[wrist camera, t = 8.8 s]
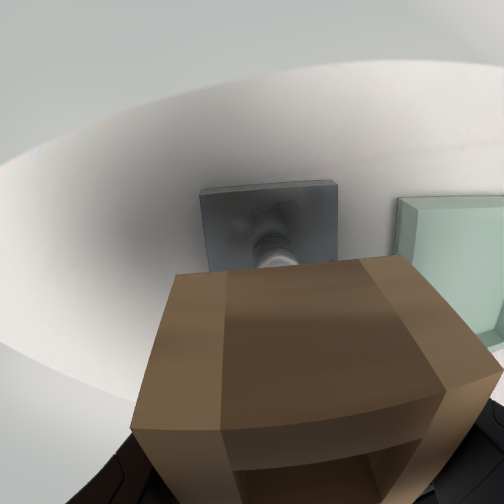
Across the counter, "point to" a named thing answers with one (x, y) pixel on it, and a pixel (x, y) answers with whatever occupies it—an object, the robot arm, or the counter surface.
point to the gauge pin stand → (270, 224)
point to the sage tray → (459, 255)
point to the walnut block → (309, 385)
